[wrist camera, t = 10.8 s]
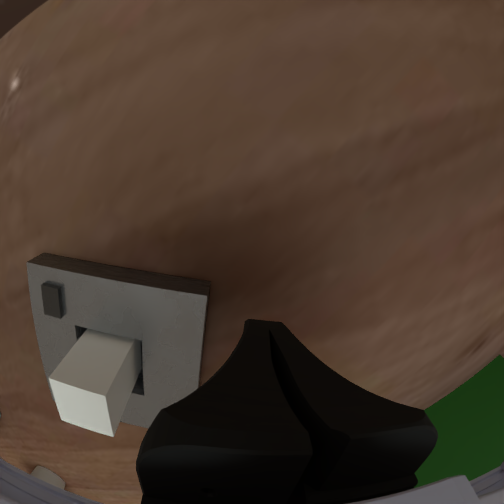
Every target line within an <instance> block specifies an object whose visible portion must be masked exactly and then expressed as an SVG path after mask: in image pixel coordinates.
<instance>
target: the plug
mask: <svg viewBox="0 0 504 504" xmlns="http://www.w3.org/2000/svg"><path fill="white" fill-rule="evenodd" d="M141 369H142V366H141V340H137V339H132V338H127V337H122V336H118V335H113V334H109V333H105V332H101V331H96V330H92V329H88V328H87V330H86V331H85V332H84V333H83V335H82V336H81V337H80V338H79V339H78V341H77V342H76V343H75V344H74V346H73V347H72V348H71V349H70V351H69V352H68V353H67V355H66V356H65V357H64V358H63V360H62V361H61V362H60V363H59V365H58V366H57V367H56V369H55V370H54V371H53V373H52V374H51V375H50V377H49V381H50V385H51V388H52V392H53V395H54V398H55V402H56V405H57V408H58V411H59V414H60V417H61V420H63V421H65V422H68V423H71V424H74V425H77V426H80V427H82V428H85V429H89V430H92V431H95V432H98V433H101V434H105V435H108V436H112V437H114V435H115V432H116V430H117V427H118V425H119V422H120V420H121V417H122V415H123V412H124V410H125V407H126V405H127V402H128V400H129V397H130V395H131V392H132V390H133V388H134V385H135V383H136V380H137V378H138V376H139V373H140V371H141Z"/></svg>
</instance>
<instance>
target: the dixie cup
mask: <svg viewBox="0 0 504 504" xmlns="http://www.w3.org/2000/svg"><path fill="white" fill-rule="evenodd" d="M30 475H32V476H34V477H36V478H38V479H40V480H43V481H45V482H47V483H49V484H52V485H54V486H56V487H59V488H61V489H63V490H64V487H65V482H64V481H63V480H62V479H61V478H60V477H59V476H58V475H57V474H55V473H54V472H52V471H50V470H49V469H47V468H45V467H42V466H36V468H35V469H34V470H33V472H32V473H31V474H30Z"/></svg>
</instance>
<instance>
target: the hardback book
mask: <svg viewBox="0 0 504 504" xmlns="http://www.w3.org/2000/svg"><path fill="white" fill-rule="evenodd" d="M424 411H425V413H426V414H427V416H428V417H429V419H430V420H431V422H432V423H433V425H434V427H435V428H436V430H437V432H438V439H437V442H436V445H435V447H434V449H433V450H432V452H431V454H430V455H429V456H428V457H427V459H426V460H425V461H424V462H423V464H422V465H421V466H420V467H419V468H418V470H417V471H416V472H415V475H416V477H417V479H418V484H417V485H416V486H414V488H417V487H420V486H424V485H427V484H430V483H433V482H436V481H439V480H441V479H444V478H447V477H452V476H457V475H465V476H466V477H467V479H468V481H471V480H473V479H475V478H477V477H480V476H482V475H484V474H486V473H488V472H490V471H491V470H493V469H495V468H497V467H499V466H501V464H502V462H503V461H504V358H503V357H502V356H501V355H499V356H497V357H496V358H495V359H494V360H493V361H492V362H490V363H489V364H488V365H487V366H486V367H484V368H483V369H482V370H481V371H479V372H478V373H477V374H476V375H474V376H473V377H472V378H470V379H469V380H468V381H466V382H465V383H464V384H462V385H461V386H460V387H458V388H457V389H455V390H454V391H453V392H451V393H450V394H448V395H447V396H445V397H444V398H442V399H441V400H439V401H438V402H436V403H435V404H433V405H432V406H430V407H429V408H427V409H425V410H424Z"/></svg>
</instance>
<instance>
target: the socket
mask: <svg viewBox="0 0 504 504" xmlns="http://www.w3.org/2000/svg"><path fill="white" fill-rule="evenodd" d="M27 272H28V282H29V291H30V299H31V306H32V312H33V319H34V324H35V330H36V335H37V340H38V345H39V349H40V354H41V358H42V362H43V366H44V370H45V374H46V377H47V381H48V385H49V388H50V391H51V395H52V398H53V400H54V401H55V398H54V395H53V392H52V388H51V385H50V381H49V377H50V375H51V374H52V373H53V371H54V370H55V369H56V367H57V366H58V365H59V363H60V362H61V361H62V360H63V358H64V357H65V356H66V355H67V353H68V352H69V351H70V349H71V348H72V347H73V346H74V344H75V343H76V342H77V341H78V339H79V338H80V337H81V336H82V335H83V333H84V332H85V331H86V330H87V328H88V329H92V330H96V331H101V332H105V333H109V334H113V335H118V336H122V337H127V338H132V339H137V340H141V366H142V369H141V371H140V373H139V376H138V378H137V380H136V383H135V385H134V388H133V390H132V392H131V395H130V397H129V400H128V402H127V405H126V407H125V410H124V412H123V415H122V417H121V420H120V422H124V423H128V424H132V425H136V426H141V427H145V428H149V427H150V425H151V424H152V422H153V421H154V419H155V418H156V416H157V415H158V413H159V412H160V410H161V409H163V408H166V407H168V406H170V405H172V404H174V403H176V402H178V401H179V400H181V399H183V398H185V397H186V396H188V395H189V394H191V393H192V392H194V391H195V390H196V389H198V388H199V385H200V374H201V364H202V354H203V344H204V335H205V325H206V317H207V308H208V299H209V291H210V283H211V281H204V280H198V279H191V278H184V277H178V276H171V275H165V274H159V273H153V272H147V271H141V270H135V269H129V268H123V267H117V266H111V265H106V264H100V263H95V262H89V261H84V260H78V259H73V258H68V257H63V256H58V255H52V254H47V253H42V254H41V255H39V256H37V257H35V258H33V259H31V260H30V261H28V262H27Z"/></svg>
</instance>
